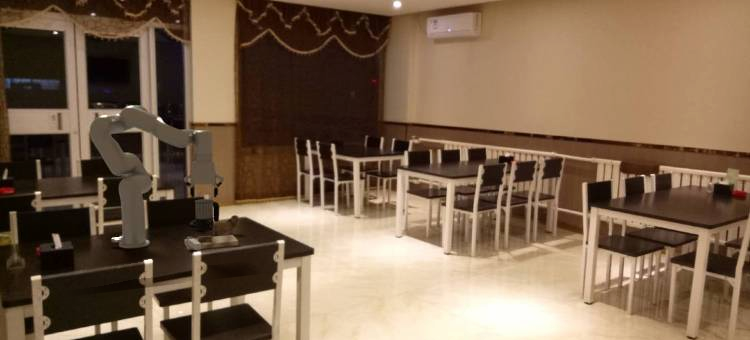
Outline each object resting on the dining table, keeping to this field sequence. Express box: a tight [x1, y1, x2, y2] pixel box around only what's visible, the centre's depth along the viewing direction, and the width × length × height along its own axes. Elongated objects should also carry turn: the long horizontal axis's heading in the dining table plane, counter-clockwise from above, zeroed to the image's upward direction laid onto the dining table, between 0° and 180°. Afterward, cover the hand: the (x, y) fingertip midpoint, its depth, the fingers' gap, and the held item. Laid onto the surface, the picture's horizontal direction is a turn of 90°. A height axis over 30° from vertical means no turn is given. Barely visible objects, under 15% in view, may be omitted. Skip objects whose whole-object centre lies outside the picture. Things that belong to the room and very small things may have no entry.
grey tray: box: [184, 234, 239, 251], centre depth 259 cm, size 22×12×4 cm, turn 116°
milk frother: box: [189, 198, 220, 232], centre depth 290 cm, size 14×16×15 cm
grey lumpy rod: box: [186, 236, 202, 251], centre depth 247 cm, size 13×3×3 cm, turn 36°
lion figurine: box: [210, 214, 240, 236], centre depth 278 cm, size 15×5×9 cm, turn 129°
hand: (204, 196), depth 252 cm, fingers open, 9 cm apart
